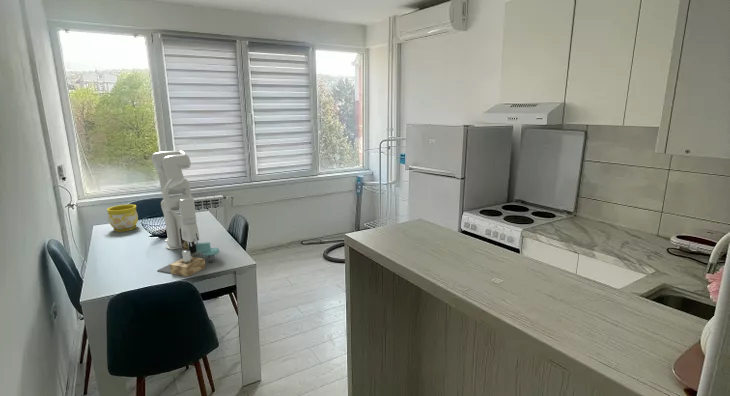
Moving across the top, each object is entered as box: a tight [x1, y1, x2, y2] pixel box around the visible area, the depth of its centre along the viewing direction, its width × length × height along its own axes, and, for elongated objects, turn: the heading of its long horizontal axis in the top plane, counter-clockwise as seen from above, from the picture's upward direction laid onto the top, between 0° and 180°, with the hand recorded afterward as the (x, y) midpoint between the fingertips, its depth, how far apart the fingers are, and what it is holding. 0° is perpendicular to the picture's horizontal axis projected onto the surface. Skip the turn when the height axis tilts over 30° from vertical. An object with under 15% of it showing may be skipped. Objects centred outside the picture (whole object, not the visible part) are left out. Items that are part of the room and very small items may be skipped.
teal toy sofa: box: [188, 241, 220, 263], centre depth 209 cm, size 16×9×11 cm, turn 103°
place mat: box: [157, 263, 172, 274], centre depth 201 cm, size 9×9×1 cm
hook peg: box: [181, 250, 192, 264], centre depth 198 cm, size 4×4×11 cm
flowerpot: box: [106, 203, 139, 233], centre depth 268 cm, size 18×18×16 cm
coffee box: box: [179, 229, 200, 257], centre depth 219 cm, size 9×6×16 cm
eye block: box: [170, 256, 206, 277], centre depth 199 cm, size 12×12×5 cm
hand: (193, 252), depth 204 cm, fingers closed
